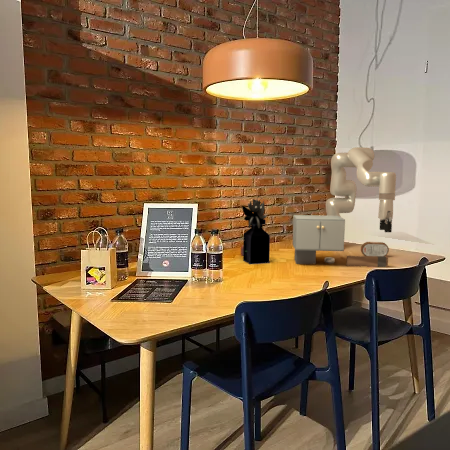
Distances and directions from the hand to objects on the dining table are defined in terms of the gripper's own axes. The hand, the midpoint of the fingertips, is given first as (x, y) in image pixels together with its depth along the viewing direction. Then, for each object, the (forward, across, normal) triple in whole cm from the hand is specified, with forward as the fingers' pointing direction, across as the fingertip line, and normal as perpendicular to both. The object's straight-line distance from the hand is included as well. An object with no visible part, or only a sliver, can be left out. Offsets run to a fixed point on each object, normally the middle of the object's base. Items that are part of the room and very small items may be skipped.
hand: (385, 231), depth 218 cm
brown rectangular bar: (+18, +1, -8) cm, 20 cm away
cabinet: (+18, -4, -33) cm, 38 cm away
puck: (+18, -6, -26) cm, 32 cm away
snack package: (+18, -25, -67) cm, 73 cm away
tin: (+18, -25, +1) cm, 31 cm away
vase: (+18, -2, -65) cm, 68 cm away
